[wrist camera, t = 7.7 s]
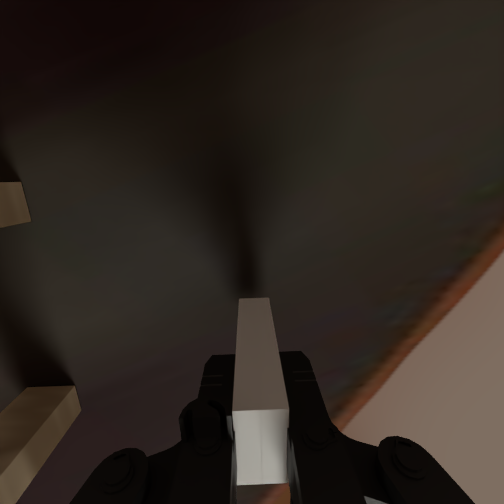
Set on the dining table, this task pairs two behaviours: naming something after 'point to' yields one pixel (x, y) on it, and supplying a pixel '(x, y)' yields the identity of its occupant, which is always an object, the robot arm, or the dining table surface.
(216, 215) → the dining table surface
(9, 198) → the bridge
